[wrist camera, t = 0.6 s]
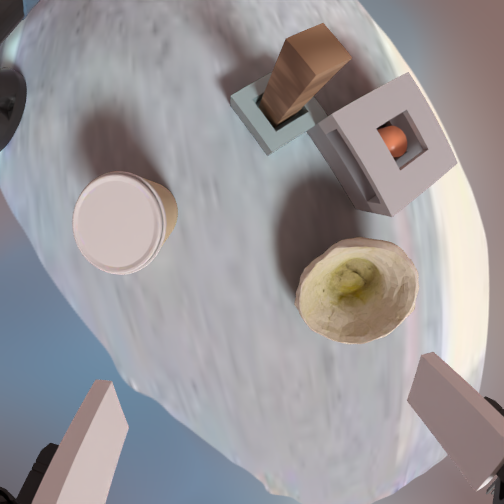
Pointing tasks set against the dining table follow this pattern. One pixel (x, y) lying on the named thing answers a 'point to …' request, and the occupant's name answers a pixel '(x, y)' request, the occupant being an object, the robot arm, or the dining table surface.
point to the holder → (260, 127)
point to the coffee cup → (123, 221)
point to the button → (394, 140)
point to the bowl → (357, 290)
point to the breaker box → (384, 147)
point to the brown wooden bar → (301, 72)
